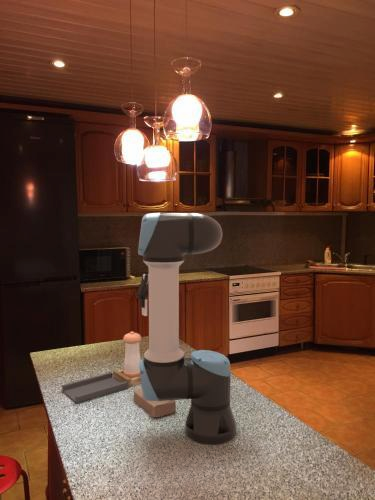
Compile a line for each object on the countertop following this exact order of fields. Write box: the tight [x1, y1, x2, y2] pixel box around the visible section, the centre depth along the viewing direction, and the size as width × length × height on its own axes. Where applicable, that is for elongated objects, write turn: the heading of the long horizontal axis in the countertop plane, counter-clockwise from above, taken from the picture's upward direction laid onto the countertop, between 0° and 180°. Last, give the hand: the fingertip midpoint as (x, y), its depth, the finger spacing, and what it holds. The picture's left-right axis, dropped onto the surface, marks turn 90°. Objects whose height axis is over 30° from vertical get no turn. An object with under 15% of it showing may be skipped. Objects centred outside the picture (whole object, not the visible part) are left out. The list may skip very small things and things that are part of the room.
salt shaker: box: [122, 331, 142, 379], centre depth 156 cm, size 7×7×19 cm
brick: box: [132, 386, 177, 418], centre depth 134 cm, size 17×8×5 cm, turn 32°
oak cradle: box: [112, 369, 141, 388], centre depth 157 cm, size 12×11×3 cm
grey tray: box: [61, 371, 129, 405], centre depth 147 cm, size 20×13×2 cm, turn 129°
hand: (158, 312), depth 163 cm, fingers open, 12 cm apart
